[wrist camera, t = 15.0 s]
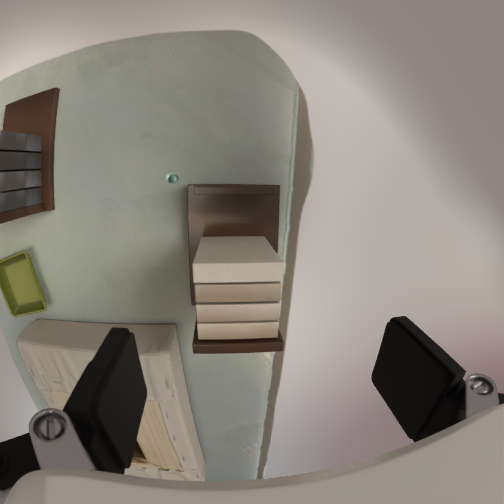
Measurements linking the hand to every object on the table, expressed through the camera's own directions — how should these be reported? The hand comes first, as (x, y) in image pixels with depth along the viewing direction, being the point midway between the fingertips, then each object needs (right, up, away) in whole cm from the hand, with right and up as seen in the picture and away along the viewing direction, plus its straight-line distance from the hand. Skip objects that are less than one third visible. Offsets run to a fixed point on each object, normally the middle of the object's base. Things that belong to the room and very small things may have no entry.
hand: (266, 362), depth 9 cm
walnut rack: (-30, +17, +17) cm, 39 cm away
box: (-21, -21, +28) cm, 41 cm away
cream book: (-3, +5, +22) cm, 23 cm away
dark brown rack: (-3, +5, +23) cm, 24 cm away
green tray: (-34, 0, +21) cm, 40 cm away
